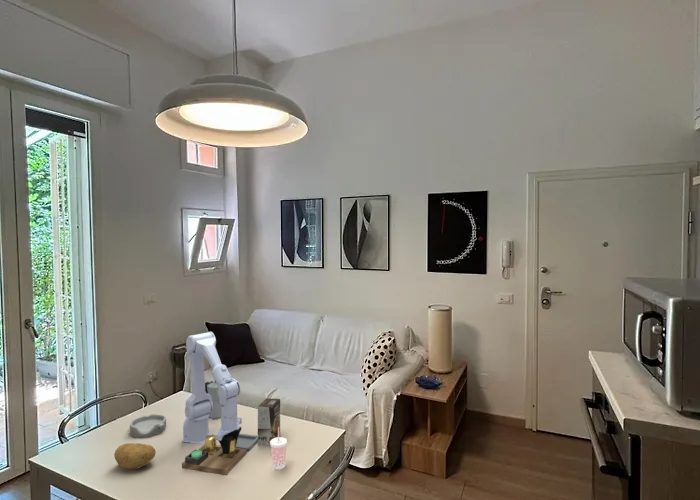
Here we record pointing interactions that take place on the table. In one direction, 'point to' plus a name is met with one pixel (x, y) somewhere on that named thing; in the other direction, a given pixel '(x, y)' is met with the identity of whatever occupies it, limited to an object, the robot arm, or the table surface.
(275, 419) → the coffee box
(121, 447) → the potato
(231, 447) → the cylinder
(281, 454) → the beverage cup
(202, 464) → the pallet board
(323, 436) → the table surface
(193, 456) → the button
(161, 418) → the dish
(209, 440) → the seated billet
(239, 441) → the tote
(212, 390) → the coffee maker
